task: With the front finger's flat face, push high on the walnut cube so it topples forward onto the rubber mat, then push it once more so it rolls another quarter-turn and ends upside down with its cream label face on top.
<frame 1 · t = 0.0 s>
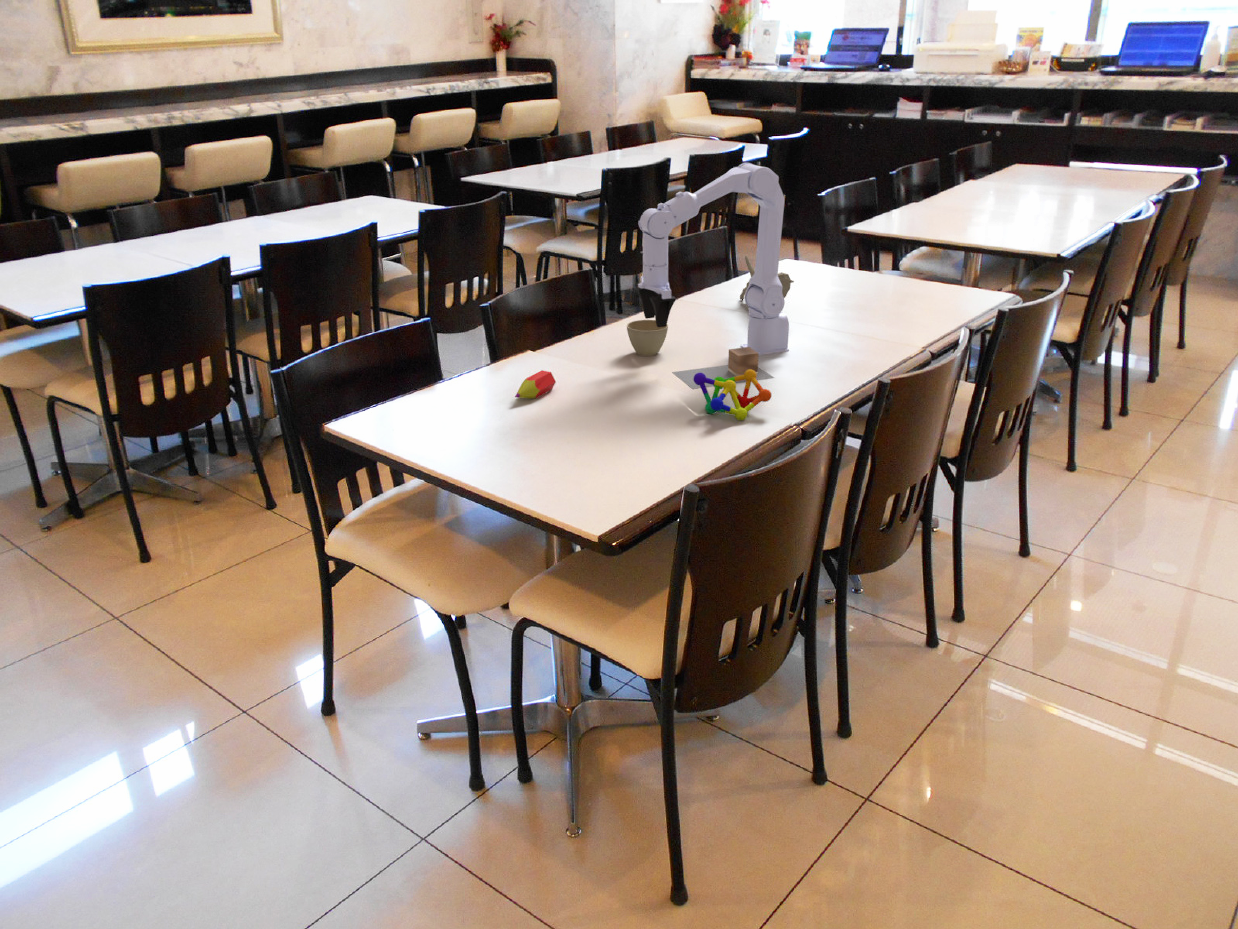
hand: (655, 322, 218), 10 cm above the table, tool pointing down, fingers open, 7 cm apart
decorative model: (730, 413, 193), on the table
sculpture: (762, 312, 262), on the table
walnut cube: (742, 372, 215), resting on mat
pencil: (531, 398, 203), on the table
mat: (722, 376, 213), on the table
flower pot: (647, 354, 229), on the table
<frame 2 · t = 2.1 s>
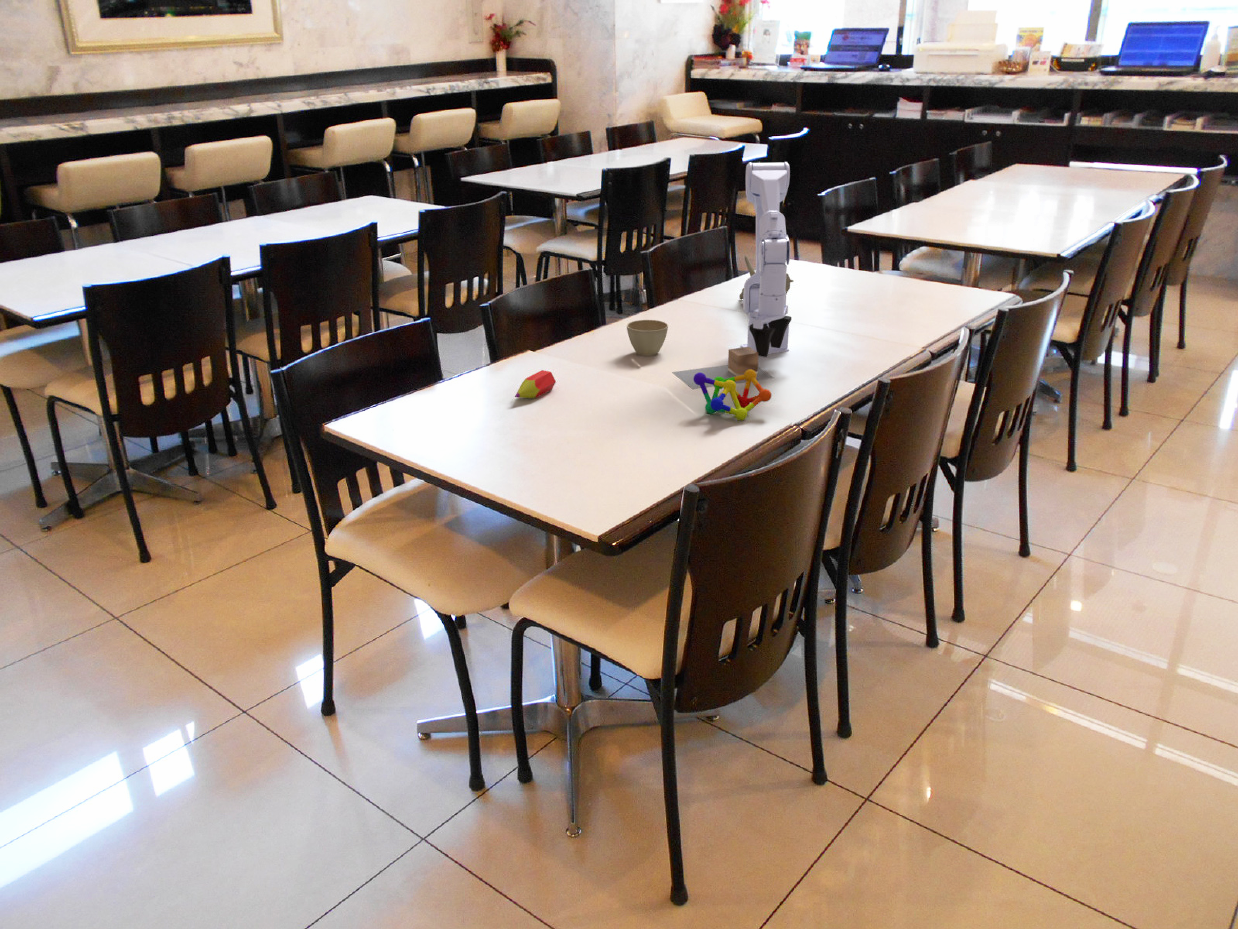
hand: (769, 351, 215), 4 cm above the table, tool pointing down, fingers open, 7 cm apart
walnut cube: (742, 372, 215), resting on mat, touching gripper
everything else where it was.
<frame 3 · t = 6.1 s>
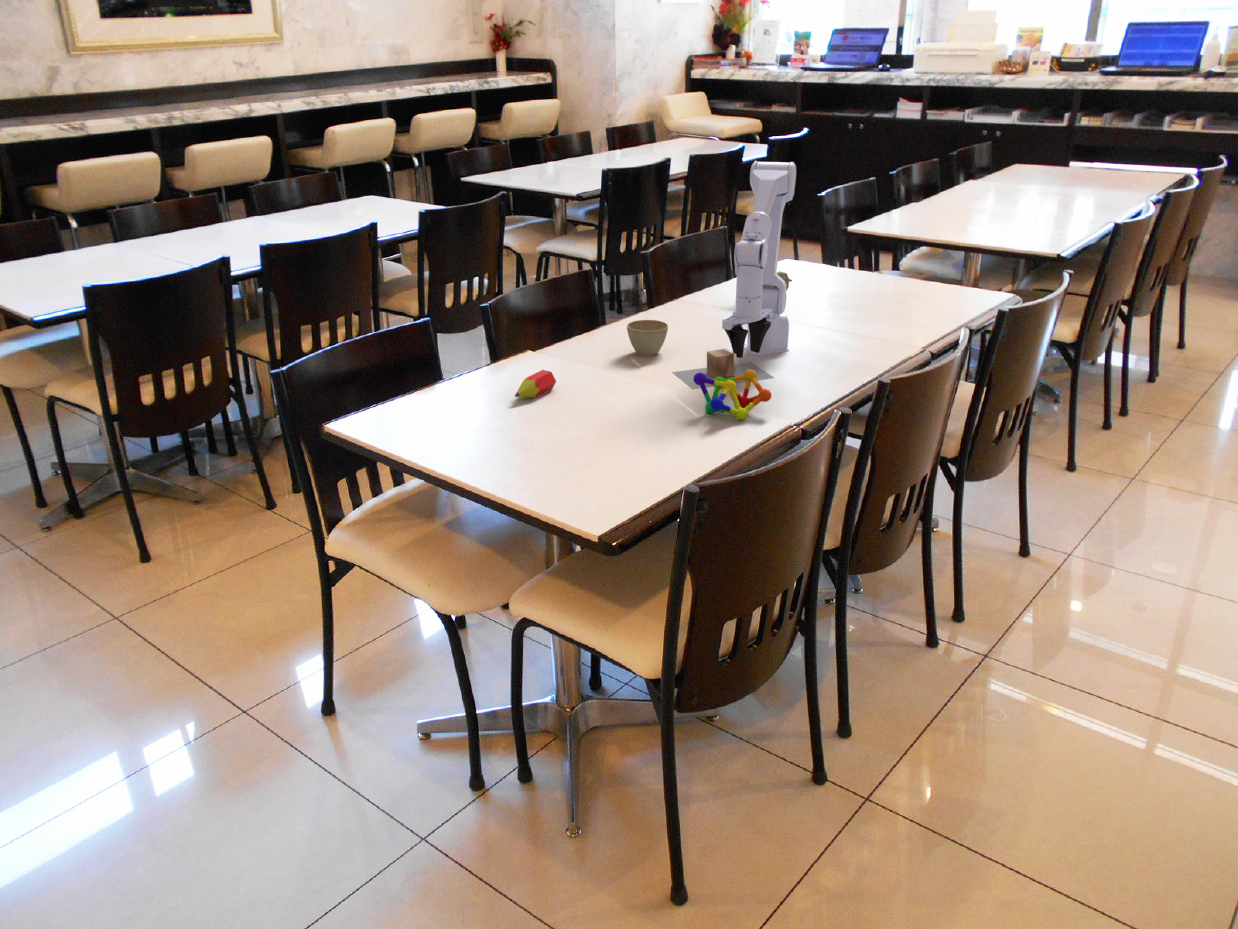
hand: (746, 354, 213), 5 cm above the table, tool pointing down, fingers open, 5 cm apart
walnut cube: (731, 361, 213), point 3 cm above the table, tilted 91°, touching gripper, mat
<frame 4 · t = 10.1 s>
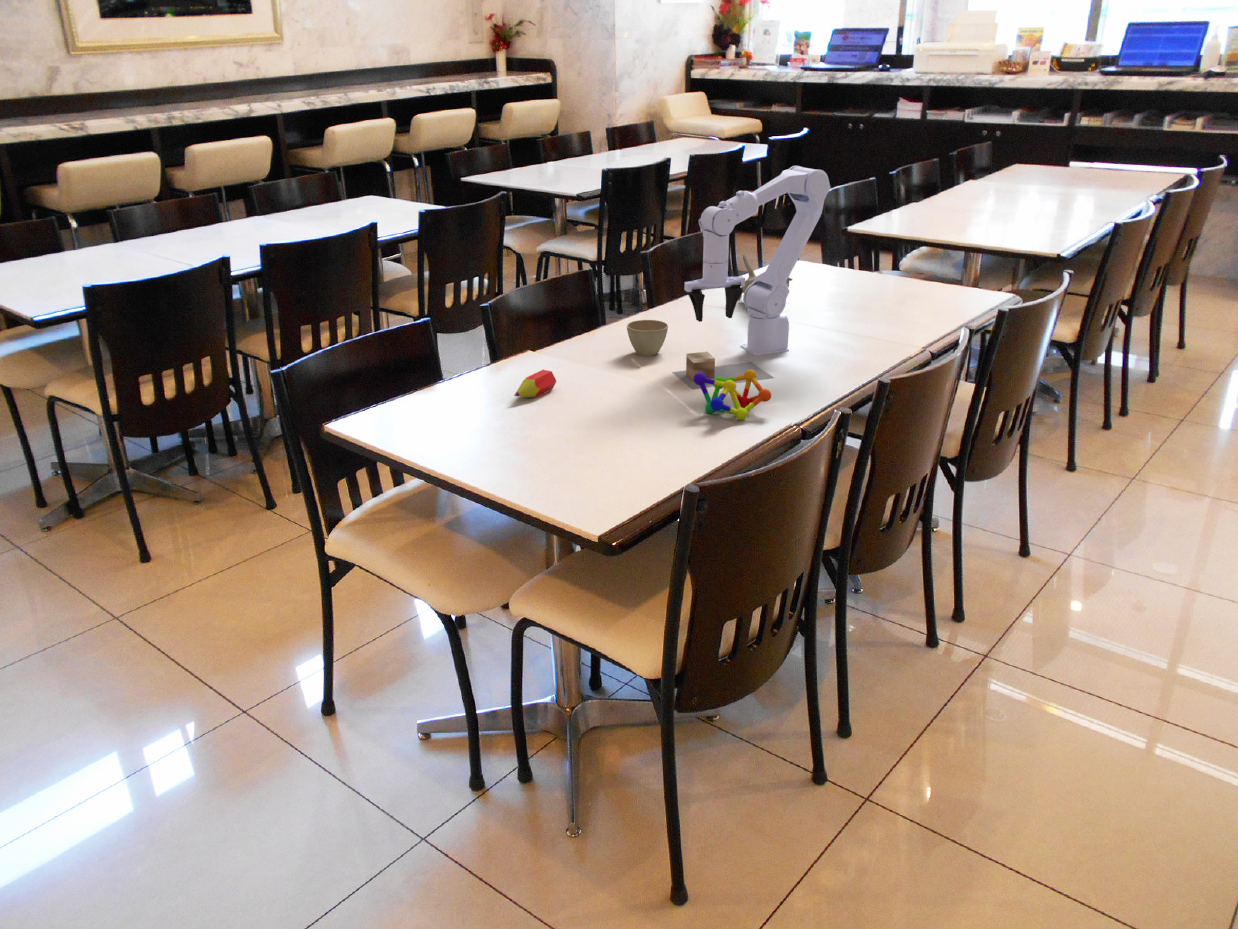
hand: (714, 318, 220), 10 cm above the table, tool pointing down, fingers open, 7 cm apart
walnut cube: (700, 355, 210), point 5 cm above the table, tilted 180°, touching mat
at the end: walnut cube tilted 180°; walnut cube inside the target area (1.1 cm from its centre), point 5.3 cm above the table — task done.
